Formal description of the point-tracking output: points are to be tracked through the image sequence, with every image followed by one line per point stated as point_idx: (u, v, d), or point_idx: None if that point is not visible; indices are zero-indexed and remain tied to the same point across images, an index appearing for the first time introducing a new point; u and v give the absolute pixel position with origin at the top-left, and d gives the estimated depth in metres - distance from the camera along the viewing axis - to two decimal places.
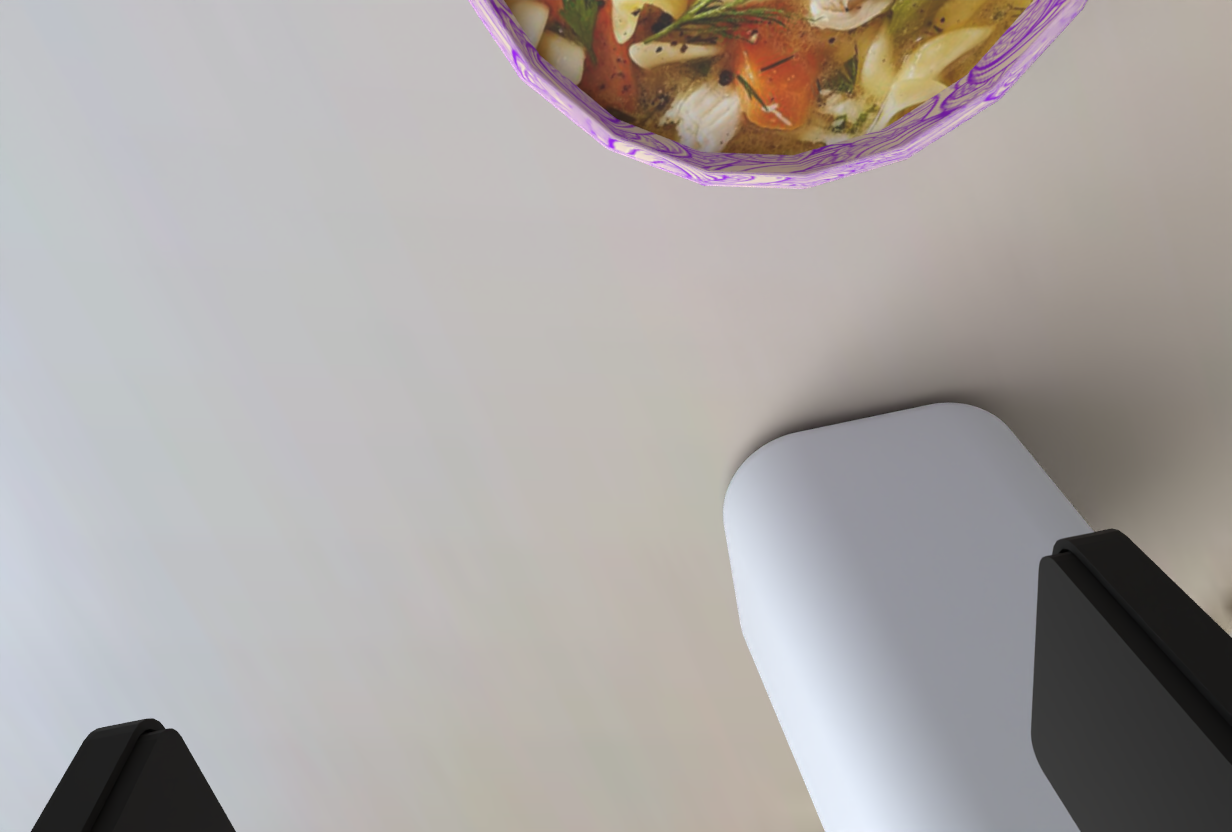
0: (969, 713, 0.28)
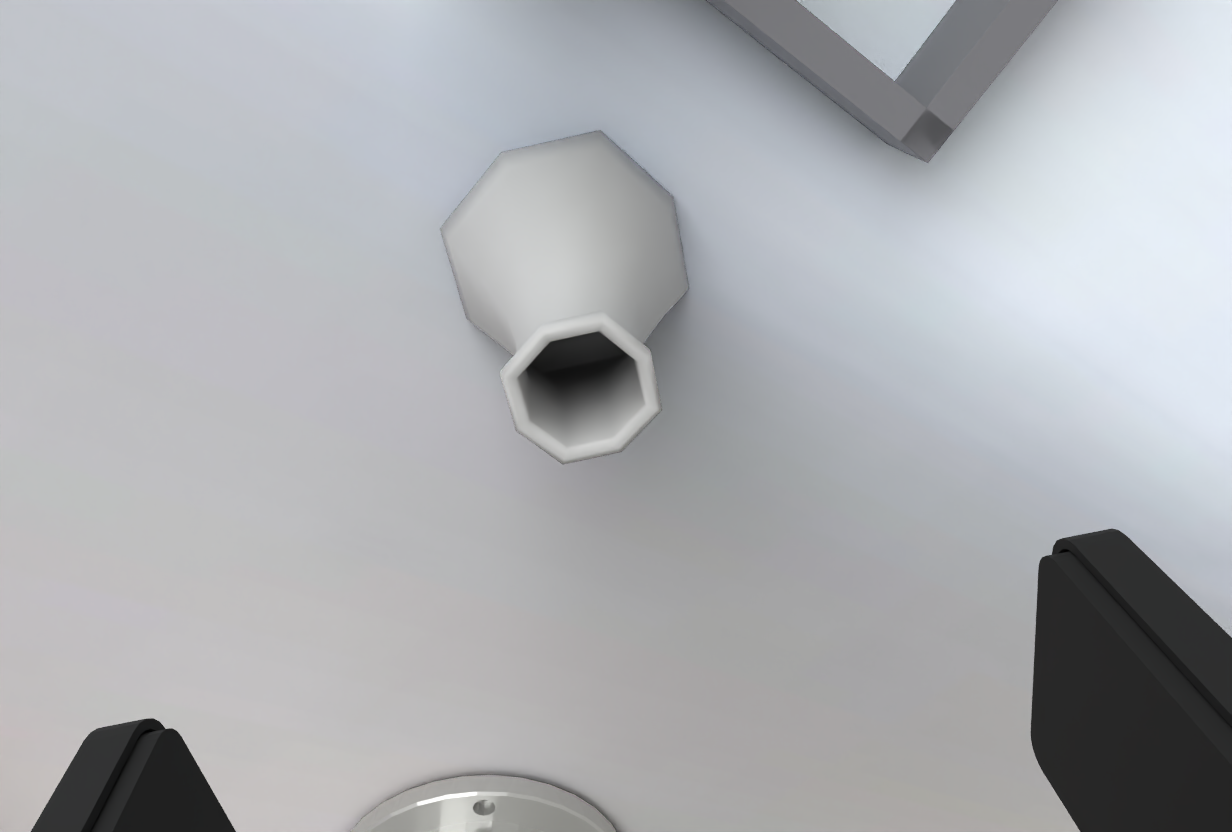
0: None
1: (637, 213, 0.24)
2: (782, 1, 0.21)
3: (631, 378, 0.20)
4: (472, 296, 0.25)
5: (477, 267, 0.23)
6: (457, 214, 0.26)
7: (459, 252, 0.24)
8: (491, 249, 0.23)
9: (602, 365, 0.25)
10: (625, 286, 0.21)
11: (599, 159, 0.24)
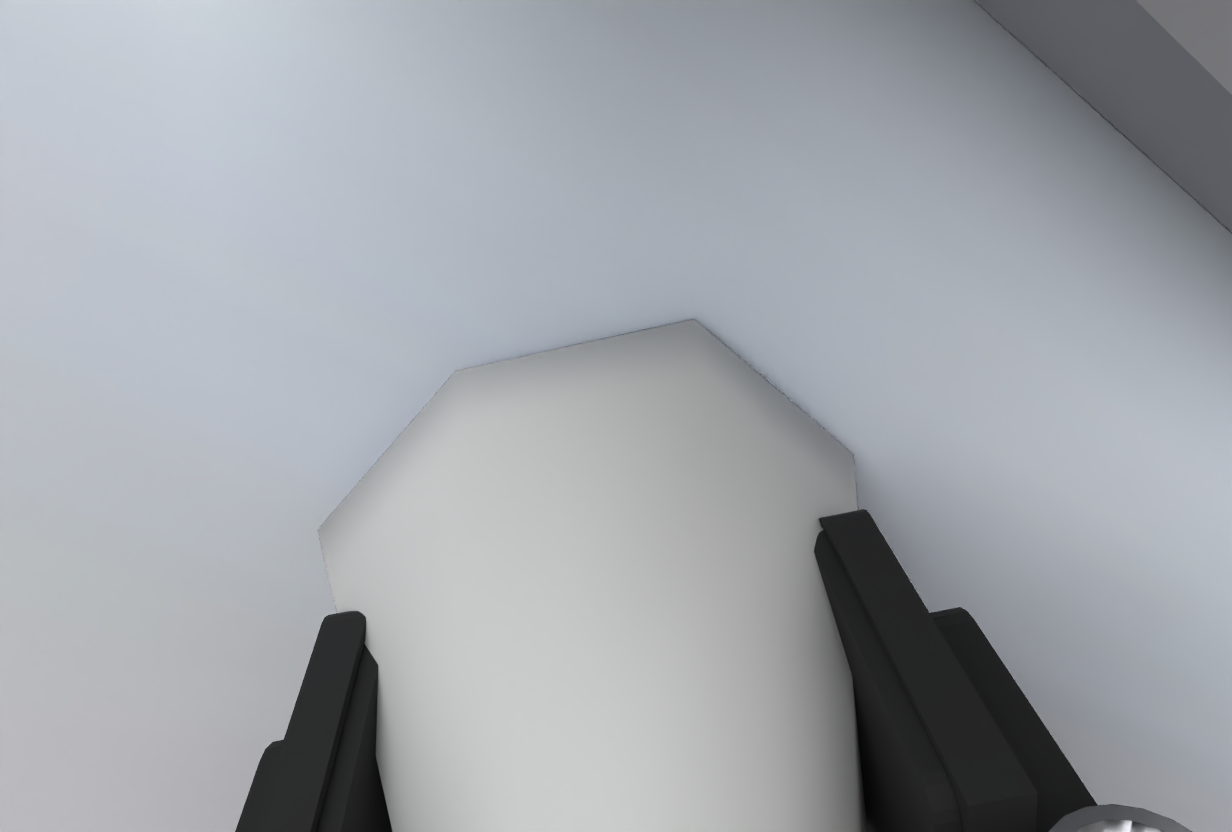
0: None
1: (804, 565, 0.09)
2: None
3: None
4: None
5: (380, 736, 0.09)
6: (354, 508, 0.11)
7: None
8: (420, 686, 0.09)
9: None
10: None
11: (703, 419, 0.09)
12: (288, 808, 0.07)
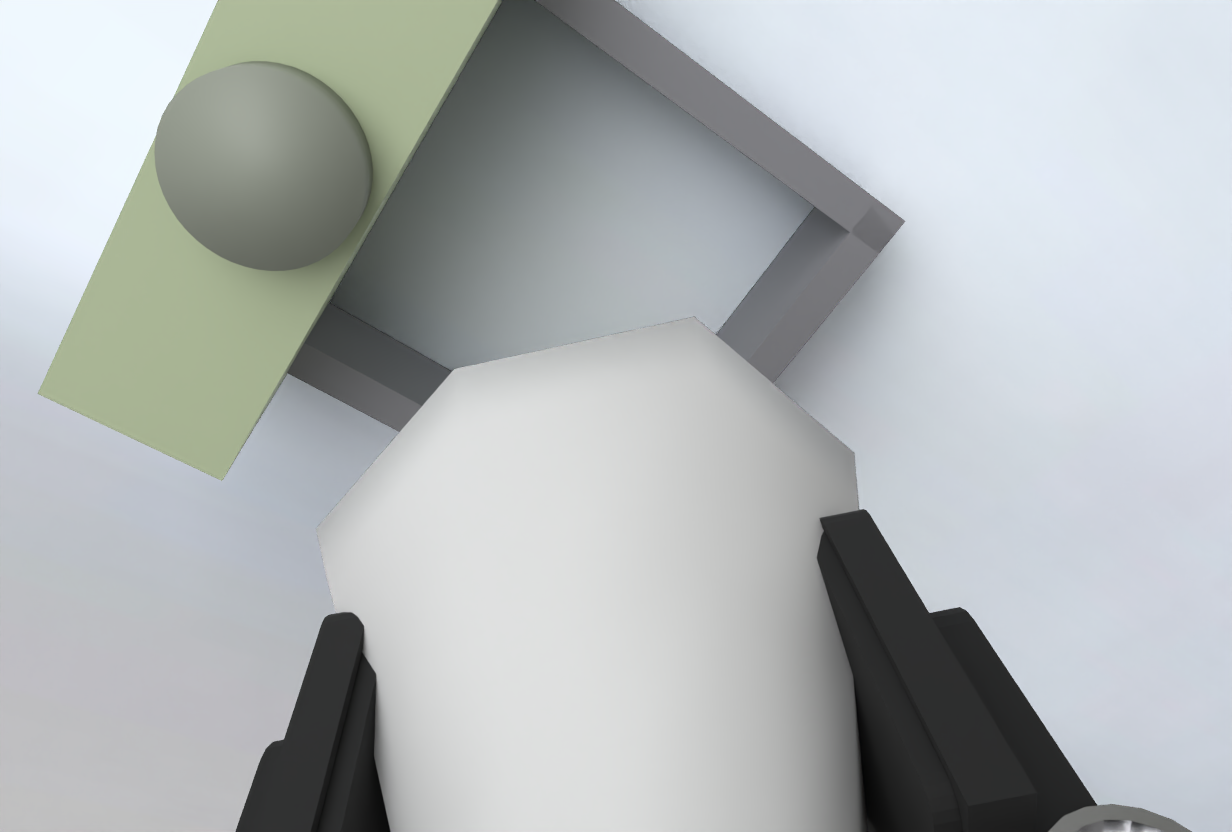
0: None
1: (805, 564, 0.09)
2: None
3: None
4: None
5: (378, 736, 0.09)
6: (353, 506, 0.11)
7: None
8: (419, 686, 0.09)
9: None
10: None
11: (703, 416, 0.09)
12: (289, 808, 0.07)
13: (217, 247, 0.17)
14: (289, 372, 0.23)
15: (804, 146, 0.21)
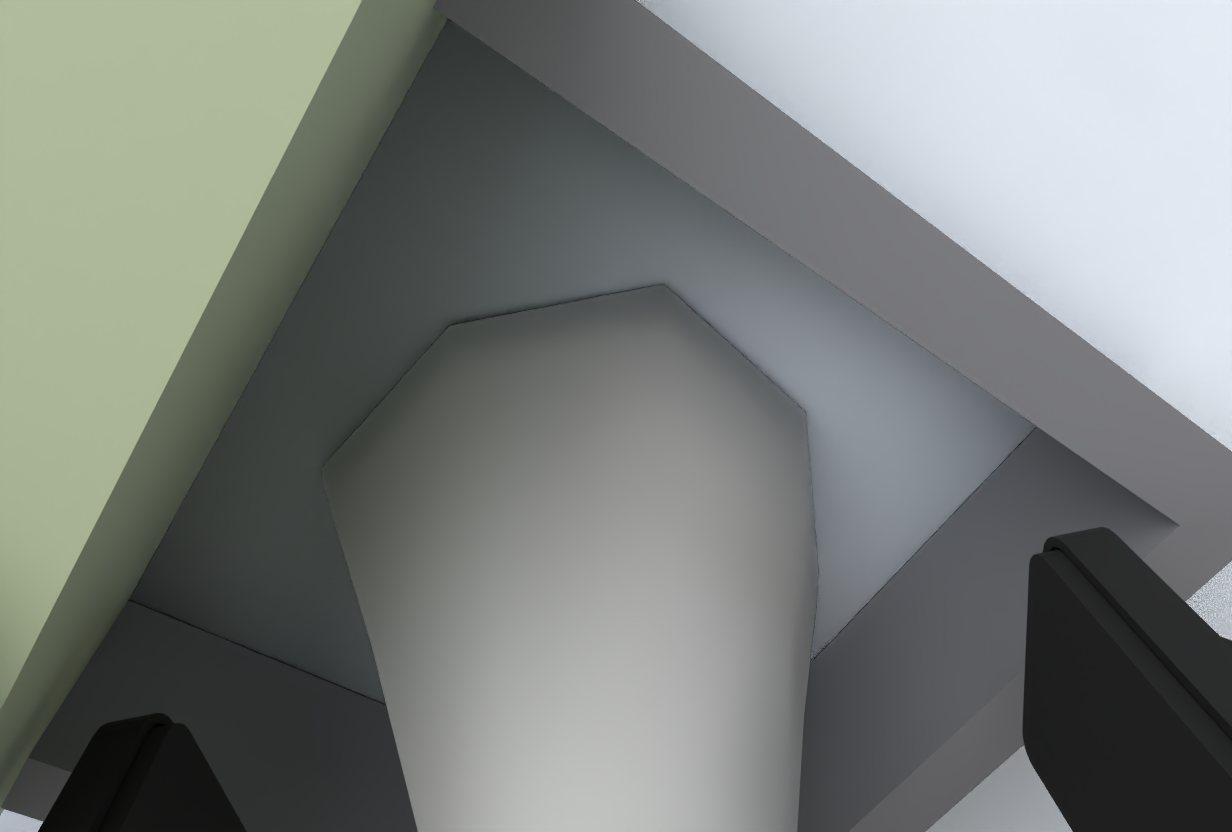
0: None
1: (752, 498, 0.10)
2: None
3: None
4: None
5: (377, 636, 0.10)
6: (355, 449, 0.12)
7: (347, 562, 0.11)
8: (414, 593, 0.10)
9: None
10: (759, 802, 0.08)
11: (667, 369, 0.11)
12: None
13: None
14: (5, 807, 0.11)
15: (1113, 366, 0.09)
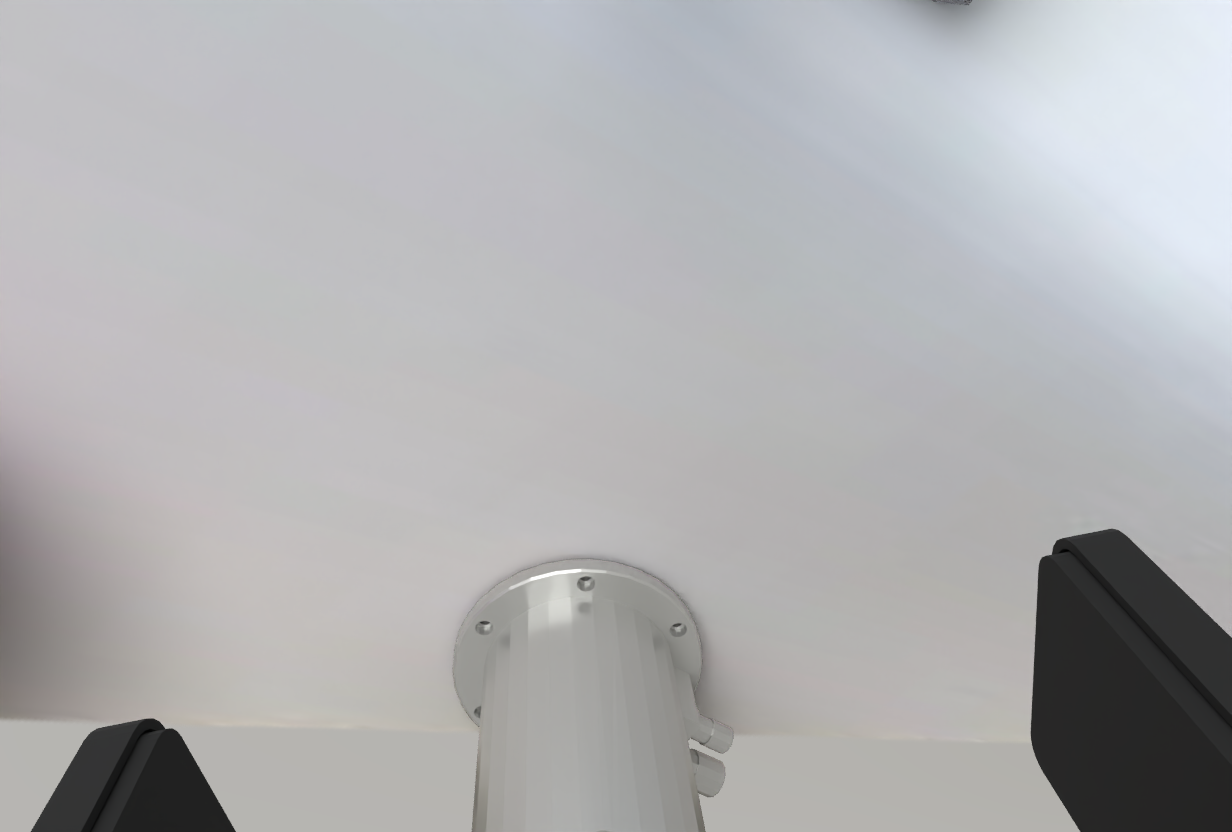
0: None
1: None
2: None
3: None
4: None
5: None
6: None
7: None
8: None
9: None
10: None
11: None
12: None
13: None
14: None
15: None
